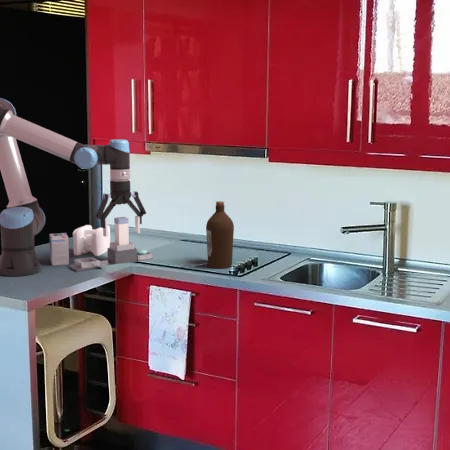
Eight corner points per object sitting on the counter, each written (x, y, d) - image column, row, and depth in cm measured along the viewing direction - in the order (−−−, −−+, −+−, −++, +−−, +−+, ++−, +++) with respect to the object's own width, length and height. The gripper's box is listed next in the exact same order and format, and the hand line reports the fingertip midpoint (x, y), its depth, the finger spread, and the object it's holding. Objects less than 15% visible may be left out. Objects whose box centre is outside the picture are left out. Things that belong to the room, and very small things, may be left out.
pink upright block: (119, 249, 268) (118, 219, 266) (113, 247, 273) (113, 217, 270) (129, 248, 271) (128, 218, 268) (123, 246, 275) (122, 216, 273)
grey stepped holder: (77, 271, 258) (76, 250, 257) (69, 267, 265) (69, 247, 263) (154, 261, 275) (153, 241, 274) (145, 257, 282) (145, 238, 280)
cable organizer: (96, 259, 279) (95, 231, 277) (72, 258, 281) (71, 229, 279) (111, 251, 293) (110, 224, 291) (88, 250, 296) (87, 223, 294)
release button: (139, 255, 273) (139, 252, 273) (134, 253, 277) (134, 250, 277) (149, 254, 276) (149, 250, 275) (144, 252, 279) (144, 248, 279)
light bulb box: (50, 259, 278) (48, 233, 276) (67, 258, 280) (66, 232, 278) (52, 265, 268) (50, 238, 266) (69, 264, 270) (68, 237, 268)
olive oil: (231, 262, 274) (231, 199, 270) (235, 268, 264) (235, 203, 259) (204, 263, 273) (204, 200, 268) (207, 269, 262) (207, 204, 258)
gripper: (93, 183, 257) (95, 239, 260) (153, 179, 270) (154, 232, 274) (85, 181, 263) (87, 236, 267) (145, 177, 276) (146, 229, 280)
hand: (121, 234), depth 270 cm, fingers open, 13 cm apart
